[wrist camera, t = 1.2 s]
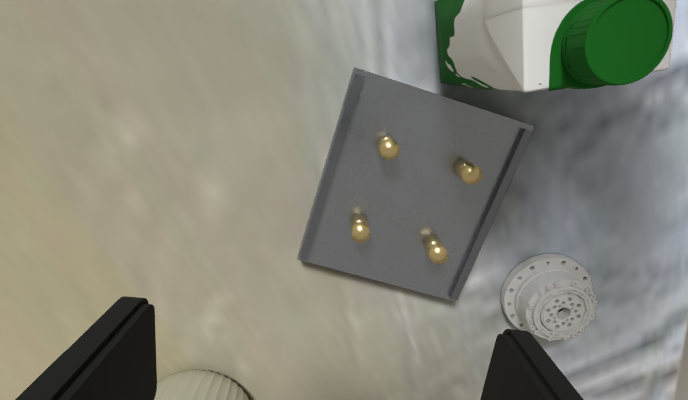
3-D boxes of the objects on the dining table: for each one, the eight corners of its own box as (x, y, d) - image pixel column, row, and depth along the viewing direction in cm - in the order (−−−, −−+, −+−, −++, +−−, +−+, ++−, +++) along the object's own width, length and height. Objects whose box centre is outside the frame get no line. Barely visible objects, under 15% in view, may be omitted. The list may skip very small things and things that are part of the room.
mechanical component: (565, 236, 42) (484, 279, 44) (590, 253, 38) (500, 301, 40) (597, 301, 45) (520, 340, 46) (624, 324, 41) (539, 366, 42)
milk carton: (432, 93, 37) (531, 108, 18) (423, -9, 34) (530, -119, 15) (522, 78, 37) (720, 77, 18) (520, -26, 34) (752, -160, 15)
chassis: (353, 67, 36) (356, 66, 32) (524, 123, 38) (551, 130, 33) (299, 251, 42) (294, 273, 37) (450, 292, 44) (464, 317, 39)
